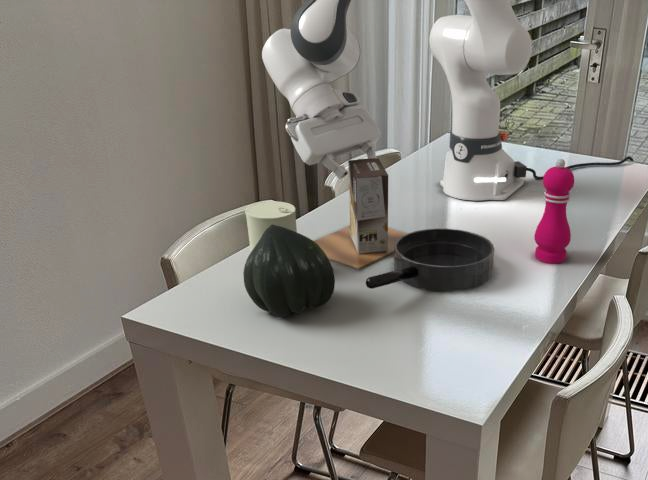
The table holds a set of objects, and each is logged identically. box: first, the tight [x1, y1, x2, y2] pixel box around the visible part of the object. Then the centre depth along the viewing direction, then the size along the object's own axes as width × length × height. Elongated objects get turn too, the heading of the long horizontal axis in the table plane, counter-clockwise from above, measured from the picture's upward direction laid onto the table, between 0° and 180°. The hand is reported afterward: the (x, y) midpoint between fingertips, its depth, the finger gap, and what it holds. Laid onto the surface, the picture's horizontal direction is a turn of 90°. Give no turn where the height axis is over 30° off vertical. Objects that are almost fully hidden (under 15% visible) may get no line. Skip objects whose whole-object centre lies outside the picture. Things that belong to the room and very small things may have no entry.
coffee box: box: [347, 157, 389, 254], centre depth 153 cm, size 9×6×16 cm
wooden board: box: [313, 225, 407, 271], centre depth 159 cm, size 20×16×1 cm
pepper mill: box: [533, 158, 575, 265], centre depth 150 cm, size 7×7×20 cm
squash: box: [243, 224, 336, 317], centre depth 131 cm, size 14×15×15 cm
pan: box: [393, 228, 496, 292], centre depth 147 cm, size 19×19×5 cm
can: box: [244, 200, 298, 253], centre depth 144 cm, size 9×9×12 cm
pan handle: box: [365, 266, 418, 290], centre depth 136 cm, size 14×2×4 cm, turn 145°
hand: (359, 170), depth 150 cm, fingers open, 8 cm apart
